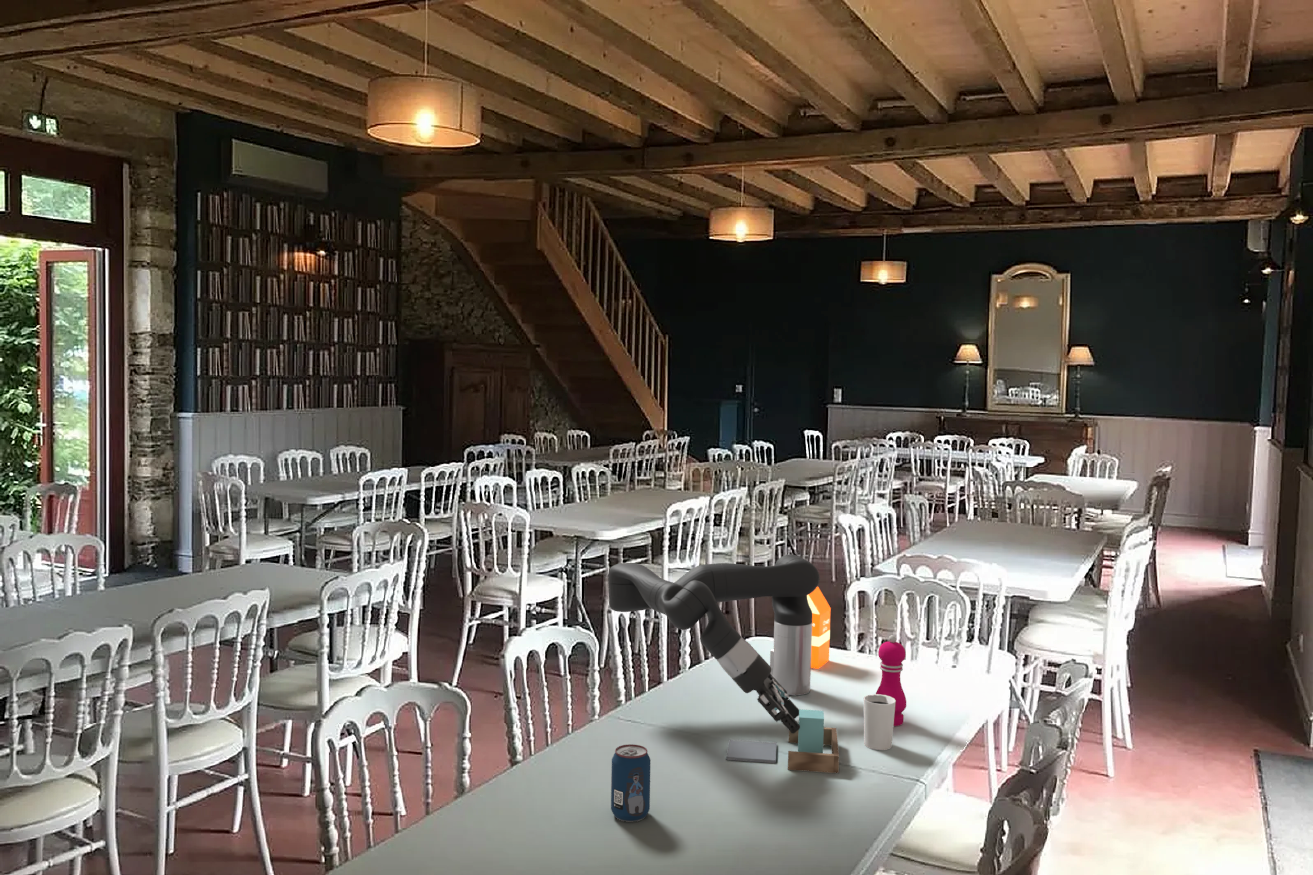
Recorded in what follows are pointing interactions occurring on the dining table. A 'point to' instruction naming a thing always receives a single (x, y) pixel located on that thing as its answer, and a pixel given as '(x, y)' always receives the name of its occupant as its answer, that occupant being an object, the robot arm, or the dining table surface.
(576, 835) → the dining table surface
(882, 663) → the pepper mill
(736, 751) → the slate mat
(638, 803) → the soda can
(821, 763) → the walnut cubby
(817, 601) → the orange juice
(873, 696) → the white paper cup
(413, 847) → the dining table surface
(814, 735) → the teal block
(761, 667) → the robot arm
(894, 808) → the dining table surface
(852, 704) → the dining table surface
